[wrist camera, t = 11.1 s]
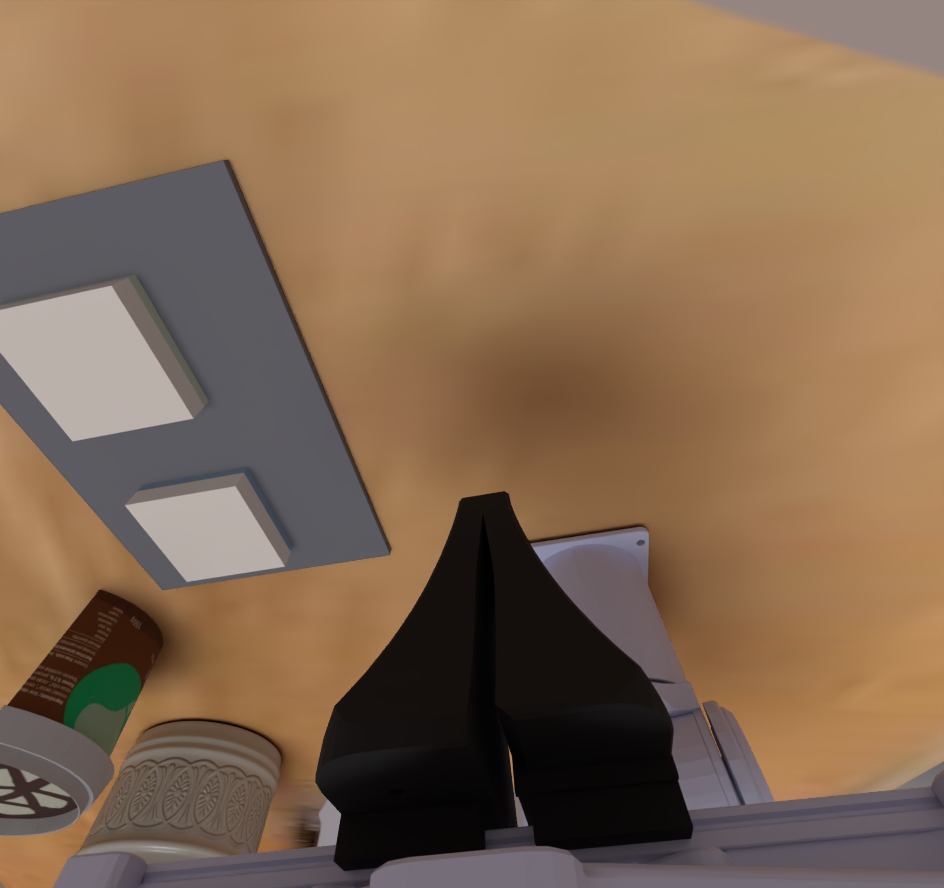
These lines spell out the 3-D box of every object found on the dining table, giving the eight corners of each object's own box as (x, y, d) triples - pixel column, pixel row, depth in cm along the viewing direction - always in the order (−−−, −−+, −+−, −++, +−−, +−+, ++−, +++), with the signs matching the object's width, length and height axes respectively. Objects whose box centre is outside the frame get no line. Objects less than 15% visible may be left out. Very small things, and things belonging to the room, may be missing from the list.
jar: (103, 727, 40) (-97, 1067, 26) (243, 707, 39) (115, 1054, 25) (186, 788, 48) (66, 1082, 33) (307, 773, 46) (237, 1071, 32)
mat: (390, 550, 29) (390, 555, 29) (165, 585, 30) (162, 590, 30) (227, 159, 17) (223, 160, 17) (-127, 244, 19) (-137, 246, 18)
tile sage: (193, 418, 21) (72, 441, 22) (209, 401, 23) (94, 423, 23) (111, 285, 18) (-30, 316, 18) (135, 274, 19) (3, 303, 20)
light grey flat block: (285, 566, 27) (187, 581, 27) (293, 545, 28) (199, 560, 29) (235, 486, 23) (124, 505, 24) (247, 466, 25) (142, 485, 25)
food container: (156, 691, 38) (70, 852, 29) (70, 668, 35) (-48, 835, 27) (203, 609, 32) (113, 779, 24) (104, 576, 30) (-32, 750, 22)
